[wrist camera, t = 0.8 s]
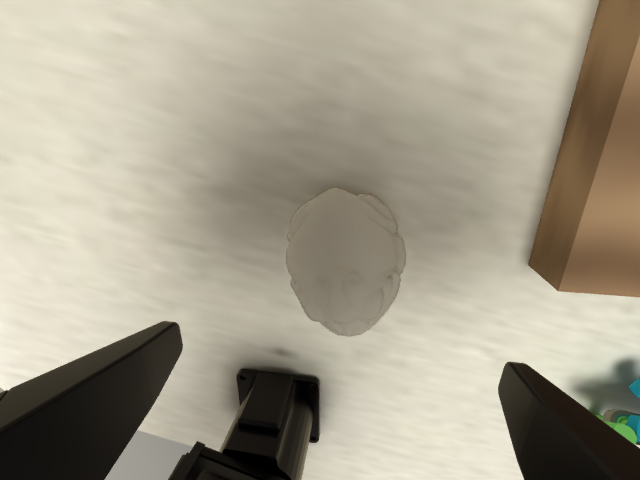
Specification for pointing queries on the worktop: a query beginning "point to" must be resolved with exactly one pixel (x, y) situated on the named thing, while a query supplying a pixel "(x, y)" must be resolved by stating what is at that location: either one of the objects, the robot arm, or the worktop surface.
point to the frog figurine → (345, 260)
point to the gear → (625, 419)
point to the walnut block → (598, 168)
